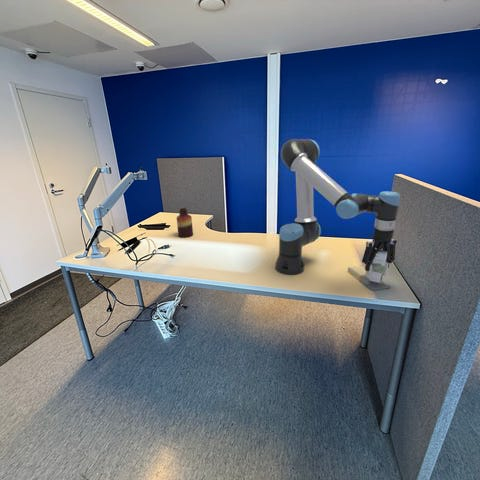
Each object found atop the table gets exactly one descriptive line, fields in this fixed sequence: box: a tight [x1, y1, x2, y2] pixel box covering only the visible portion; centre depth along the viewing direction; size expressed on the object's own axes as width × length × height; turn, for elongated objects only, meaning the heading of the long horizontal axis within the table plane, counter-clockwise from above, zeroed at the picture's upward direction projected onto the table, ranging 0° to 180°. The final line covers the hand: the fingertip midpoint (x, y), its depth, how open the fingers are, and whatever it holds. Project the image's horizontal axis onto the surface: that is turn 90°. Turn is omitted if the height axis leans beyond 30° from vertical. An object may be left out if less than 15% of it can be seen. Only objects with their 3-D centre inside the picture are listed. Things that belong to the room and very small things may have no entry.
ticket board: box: [347, 264, 368, 281], centre depth 128 cm, size 10×9×2 cm
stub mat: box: [358, 279, 390, 292], centre depth 119 cm, size 9×9×1 cm
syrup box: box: [368, 249, 387, 283], centre depth 115 cm, size 6×6×14 cm
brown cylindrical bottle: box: [176, 207, 194, 239], centre depth 188 cm, size 11×11×20 cm
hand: (375, 275), depth 117 cm, fingers closed on syrup box, 8 cm apart
